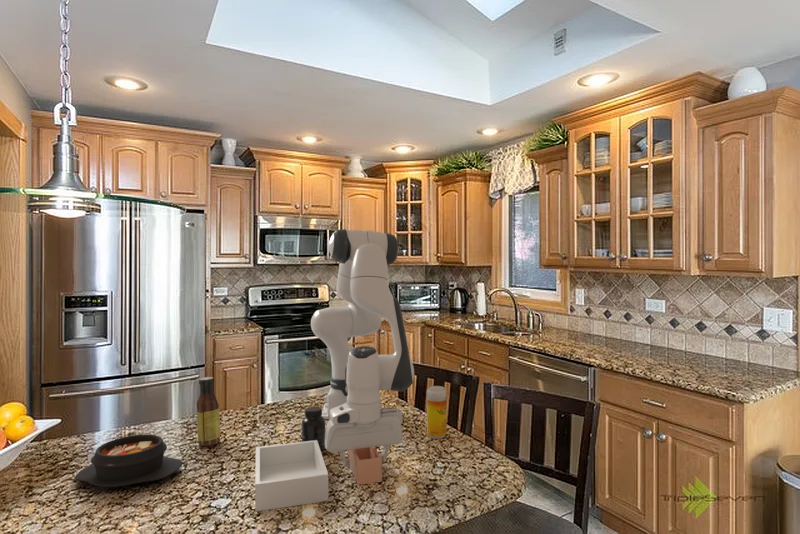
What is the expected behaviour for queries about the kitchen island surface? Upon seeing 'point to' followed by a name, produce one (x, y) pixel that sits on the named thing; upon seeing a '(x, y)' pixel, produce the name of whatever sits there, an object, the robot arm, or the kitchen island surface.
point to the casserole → (129, 462)
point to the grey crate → (290, 475)
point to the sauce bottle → (207, 414)
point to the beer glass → (436, 412)
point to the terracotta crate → (366, 465)
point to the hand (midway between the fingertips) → (364, 463)
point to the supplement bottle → (314, 426)
